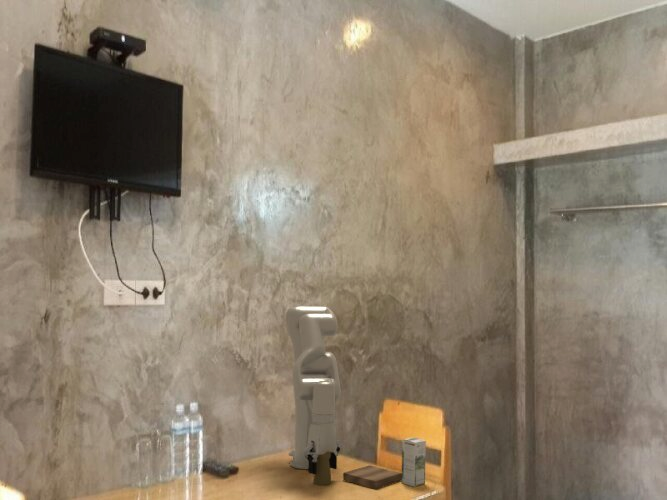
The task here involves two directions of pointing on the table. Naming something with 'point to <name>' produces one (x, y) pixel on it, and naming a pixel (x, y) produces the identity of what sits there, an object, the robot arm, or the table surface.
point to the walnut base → (372, 476)
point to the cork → (323, 470)
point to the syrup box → (413, 461)
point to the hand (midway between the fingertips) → (322, 470)
